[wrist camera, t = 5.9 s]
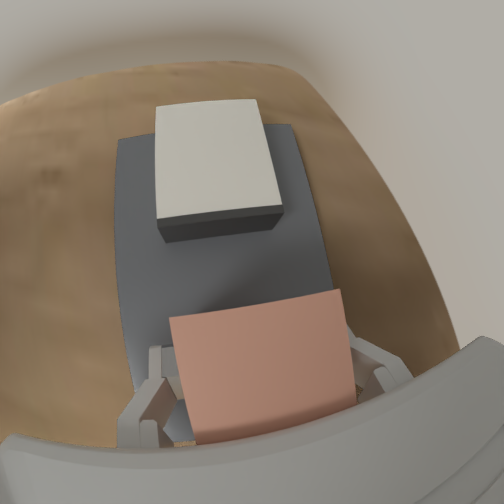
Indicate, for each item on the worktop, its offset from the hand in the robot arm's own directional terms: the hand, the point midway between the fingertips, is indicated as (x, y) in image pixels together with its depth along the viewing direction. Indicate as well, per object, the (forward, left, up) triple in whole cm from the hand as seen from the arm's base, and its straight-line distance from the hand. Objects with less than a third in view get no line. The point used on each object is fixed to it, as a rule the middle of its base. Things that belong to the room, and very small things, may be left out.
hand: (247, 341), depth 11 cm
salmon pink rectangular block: (0, -1, -5) cm, 5 cm away
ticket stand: (0, +4, -7) cm, 8 cm away
